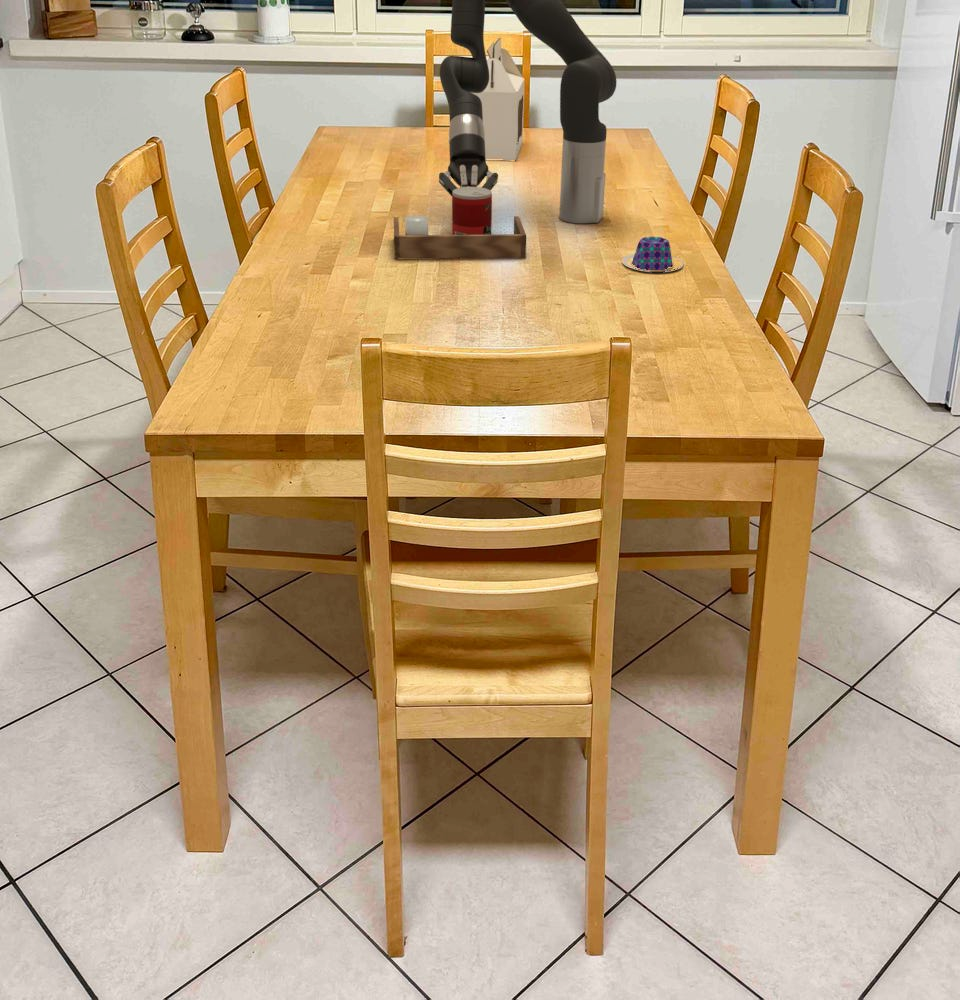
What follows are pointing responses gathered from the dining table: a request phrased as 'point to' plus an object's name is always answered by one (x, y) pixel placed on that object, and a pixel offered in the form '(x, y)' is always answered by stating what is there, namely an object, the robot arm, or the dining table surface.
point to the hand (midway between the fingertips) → (469, 215)
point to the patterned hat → (652, 255)
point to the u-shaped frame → (461, 244)
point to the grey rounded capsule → (416, 225)
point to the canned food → (471, 211)
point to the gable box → (502, 105)
